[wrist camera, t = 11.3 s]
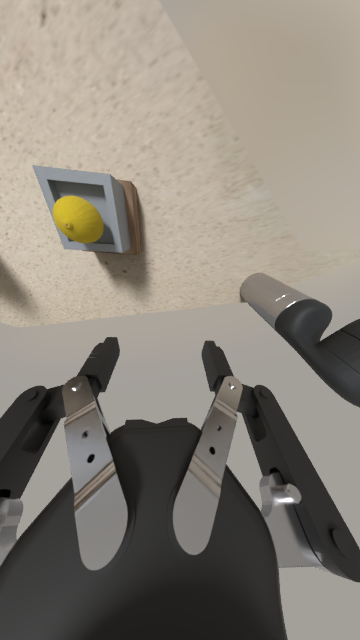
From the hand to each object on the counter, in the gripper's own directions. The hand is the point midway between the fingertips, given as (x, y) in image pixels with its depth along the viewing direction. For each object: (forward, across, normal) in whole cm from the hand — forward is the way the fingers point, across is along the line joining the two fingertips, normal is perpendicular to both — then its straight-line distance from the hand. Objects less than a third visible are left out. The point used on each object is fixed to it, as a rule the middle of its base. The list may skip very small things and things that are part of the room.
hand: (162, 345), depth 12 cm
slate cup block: (+26, +13, -9) cm, 30 cm away
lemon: (+20, +13, -9) cm, 26 cm away
